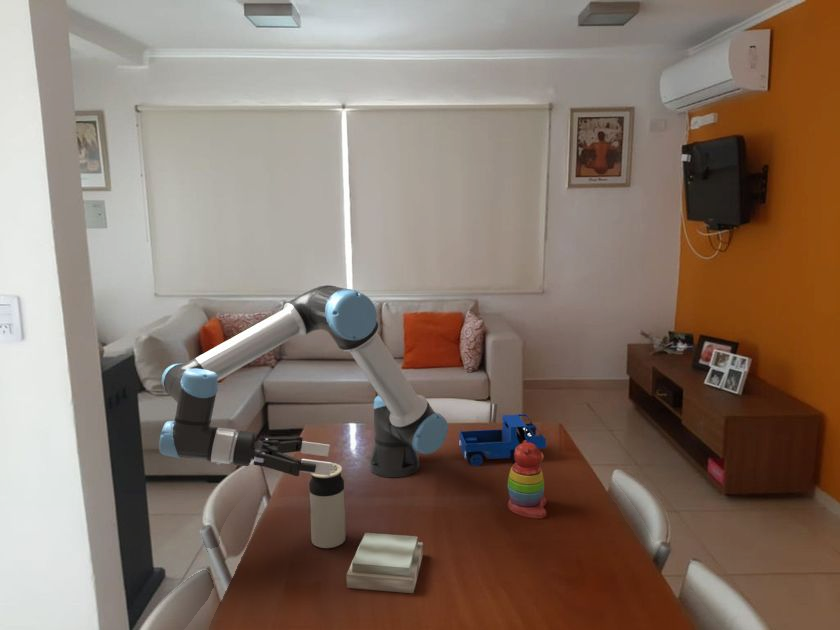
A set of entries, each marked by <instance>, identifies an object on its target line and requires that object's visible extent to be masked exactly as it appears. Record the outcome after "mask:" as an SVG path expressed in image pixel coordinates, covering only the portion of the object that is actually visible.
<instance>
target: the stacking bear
mask: <svg viewBox="0 0 840 630" xmlns="http://www.w3.org/2000/svg"><path fill="white" fill-rule="evenodd" d="M514 455H515V460H516V463H515V462H514V464H513V465H512V466H511V467H510V470H509V475H508V476H507V477H508V478H507V491H508V496H509V500H508V502H507V503H508V504H507V506H508V509H509V510H510V511H511V512H512V513H514V514H516V515H518V516H521V517H526V518H529V519H540V520H541V519H544V518H546V517H547V510H546V509H545V508H544V506H546V505H547V498H546V497H545V496H544V493H545V492H544V491H545V479H544V474H543V471H542V467H541V466H540V465H541V463H542V462H543V460H544V458H545V455H544V454H543V452H541V450H540V448H537V447H536V445H534V444H532V443H527V440H524V441H523V443H522V444H520V445H518V446H517V447H516V449H515V452H514Z"/></svg>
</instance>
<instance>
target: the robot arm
mask: <svg viewBox="0 0 840 630" xmlns="http://www.w3.org/2000/svg"><path fill="white" fill-rule="evenodd" d="M283 305H284V306H283V309H282V310H281V309H280V310H279V311H278V312H276V313H274V314H272V315H271V316H269V317H267V318H265V319H263V320H261V321H260V322H258V323H256V324H255V325H253V326H250V328H247V329H246V330H243V331H242V332H240V333H238V334H237V335H234V336H233V337H231V338H229V339H227V340H225V341H224V342H221V343H220V344H218V345H216V346H214V347H213V348H211V349H209V350H208V351H206V352H204V353H202V354H200V355H198V356H197V357H195V358H192V359H191V360H189V361H186V362H185V363H174V364H171V365H169V366H167V368H165V370H164V371H163V373H162V375H161V385H162V387H163V389H164V391H165V392H166V394H168V395H169V397H171V398H173V400H174V401H175V402H176V403H177V405H176V411H175V412H176V413H175V417H174V420H168V421H166V422H165V423H164V424H163V427H162V428H161V432H160V436H159V437H160V438H159V443H158V449H159V453H160V454H161V455H163V456H166V457H171V458H177V459H182V460H183V459H184V460H193V461H194V460H195V461H201V462H204V461H205V462H209V463H210V462H211V463H215V464H216V465H221V464H227V465H228V464H231V463H232V464H233V465H235V466H240V467H249V466H250V465H251V462H252V460H253V466H257V467H258V466H259V467H264V468H267V469H268V468H269V469H271V470H275V471H278V472H281V473H283V474H284V473H285V474H288V475H292V476H294V477H299V476H300V473H303V474H304V473H306V474H310V473H312V474H320V475H328V476H330V472H331V467H332V463H333V462H331V461H322V460H315V459H307V458H301V460H300V459H298V458H295V457H293V456H290V455H288V453H295V452H300V454H303V455H304V454H305V455H312V456H313V455H314V456H321V457H329V453H330V447H331V445H330V444H326V443H320V442H319V443H318V442H312V441H306V440H303V439H304V438H303V437H301V436H297V437H267V436H266V437H265V436H260V437H259V440H256V433H255V432H253V431H248V430H240V431H238V432H237V429H234V428H227V427H226V428H225V427H219V426H212V425H211V424H212V416H213V413H214V408H215V402H216V396H217V393H218V389H219V388H218V383H219V381H220V380H222V379H224V378H225V377H227V376H229V375H230V374H232V373H234V372H236V371H237V370H240V369H241V368H243V367H244V366H247V365H248V364H249V363H252V362H253V361H255V360H257V359H258V358H260V357H262V356H263V355H265V354H267V353H269V352H270V351H272V350H273V349H275V348H277V347H279V346H280V345H282V344H284V343H286V342H288V341H289V340H291V339H293V338H294V337H296V336H302V337H305V336H306V335H308V334H309V333H311V332H314V331H317V330H323V331H325V332H327V333H329V335H330V336H331V338H332V339H333V341H334V342H335V344H336V345H337V347H338V348H339V349H340V350H341V351H344V352H349V353H350V355H351V356H352V358H353V359H354V361H355V362H356V363H357V365H358V367H359V368H360V370H361V371H362V372H363V374H364V376H365V377H366V378H367V380H368V381H369V383H370V384H371V386H372V387H373V389H374V390H375V392H376V393H377V396H375V398H374V400H373V408H372V409H373V423H374V425H373V426H374V443H373V444H374V445H373V447H372V450H371V453H370V457H369V461H368V462H369V463H368V465H369V467H368V468H369V470H370V472H372V473H373V474H374V475H377V476H380V477H382V478H402V477H408V476H410V475H413V474H414V473H416V472H417V471H418V470H419V469H420V457H419V455H418V453H420V454H422V455H430V454H433V453H435V452H437V450H439V449H440V448H441V447H442V446H443V444H444V443H445V441H446V439H447V435H448V432H449V425H448V421H447V420H446V418H445V417H444V416H443V415H442V414H441V413H437V412H436V411H434V409H433V408H432V406H431V404H430V403H429V401H428V400H427V398H426V397H425V396H424V395H421V394H417V393H416V392H415V390H414V388H413V387H412V385H411V383H410V381H409V380H408V378H407V377H406V376H405V374H404V373H403V371H402V370H401V368H400V366H399V365H398V363H397V361H396V360H395V358H394V357H393V355H392V353H391V352H390V351H389V349H388V347H387V346H386V344H385V342H384V341H383V339H382V338H381V336H380V335H379V333H378V332H379V328H380V324H379V322H378V321H377V316H378V314H377V313H378V312H377V308H376V307H375V304H374V302H373V301H372V300H371V299H370V298H369V296H367V295H365V294H364V293H361V292H360V291H358V290H355V289H351V288H344V287H338V286H335V285H330V284H329V285H328V284H326V285H320V286H318V287H315V288H311V289H310V290H308V291H306V292H303V293H302V294H300V295H299V296H296V297H295V298H293V299H292V300H289V301H288V302H286V303H284V304H283Z"/></svg>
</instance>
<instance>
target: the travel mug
mask: <svg viewBox="0 0 840 630" xmlns="http://www.w3.org/2000/svg"><path fill="white" fill-rule="evenodd" d="M331 463H332V467H331V472H330V476H328V475H320V474H312V473H309V474H310V475H311V479H310V480H309V485H308V486H309V489H308V490H309V506H310V507H309V509H310V532H311V533H310V534H311V544H312V545H313V546H315V547H318V548H321V549H330V548H336V547H338V546H340V545H342V544H343V543H345V541H346V512H345V511H346V507H345V505H346V504H345V480H344V479H343V477H342V472H343V467H342V466H341V465H340V464H338V463H335V462H331Z"/></svg>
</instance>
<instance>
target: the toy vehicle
mask: <svg viewBox="0 0 840 630" xmlns="http://www.w3.org/2000/svg"><path fill="white" fill-rule="evenodd" d="M521 417H526V418H527V420H528V421H529V423H525V422H524V420H523V419H522V418H521ZM501 422H502V424H501V425H502V426H501V427H502V428H501V429H481V430H459V448H460V450H461V452H462V455H463V457H464V460H467V461H468V457H469V462H470V465H471V466H473V467H480V466H481V465H482V464H483V462H484V458H483V457H485V458H486V459H488V460H490V459H510V458H511V456H512V459H513V462H514V464H515V463H516V460H515V455H514V452H515V449H516V447H517V446H518V445H520V444H522V443H523V441H524V440H527V443H532V444H534V445H536V447H537V448H538V449H546V448H547V438H546V437H545V436H543V435H542V433H541V432H540V430H539V429H538V428H537V426H536V425H535V424H534V423H533V422H532V420H531V419H530V418H529V417H528V415H527V414H525V413H521V414H520V413H519V414H509V415H508V414H502V421H501ZM537 432H538V434H539V435H537Z"/></svg>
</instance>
